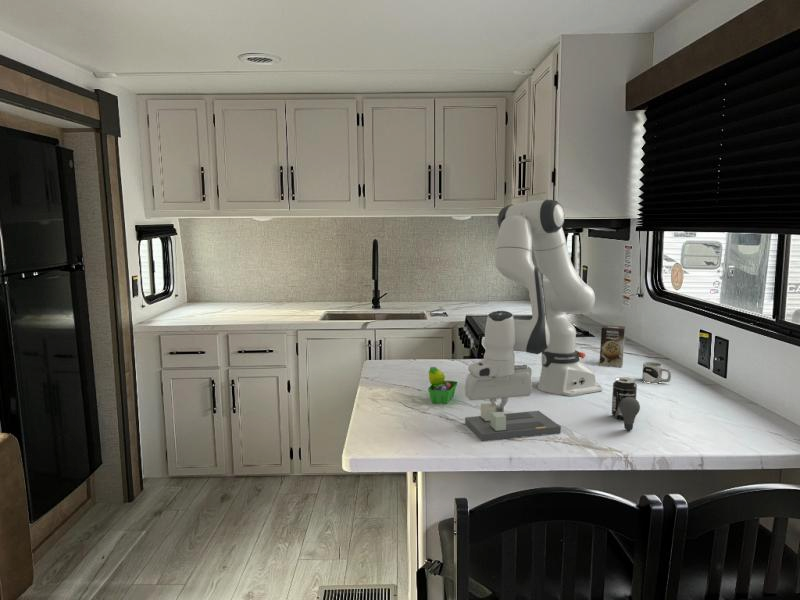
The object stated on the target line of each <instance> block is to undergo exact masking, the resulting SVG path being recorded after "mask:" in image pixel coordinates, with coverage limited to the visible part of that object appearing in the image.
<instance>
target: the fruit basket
mask: <svg viewBox="0 0 800 600" xmlns="http://www.w3.org/2000/svg"><path fill="white" fill-rule="evenodd" d="M445 378H446V374H445V373H444V372H443V371H441V370H440V369H439V368H438V367H436V366H430V367H429V371H428V380H429V382H430V386H429V387H428V388H427V391H428V393H429V397H430V400H431V404H439V403H444V405H448V403H449V402H450V401H451V400H452V399H451V398H453V397H454V395H455V393H456V392H455V391H456V390H457V389H456V388H457V385H458V381H455V380H454V381H453V380H445ZM450 399H451V400H450Z"/></svg>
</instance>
